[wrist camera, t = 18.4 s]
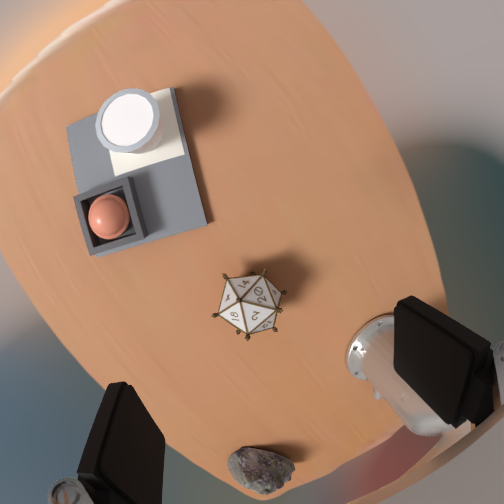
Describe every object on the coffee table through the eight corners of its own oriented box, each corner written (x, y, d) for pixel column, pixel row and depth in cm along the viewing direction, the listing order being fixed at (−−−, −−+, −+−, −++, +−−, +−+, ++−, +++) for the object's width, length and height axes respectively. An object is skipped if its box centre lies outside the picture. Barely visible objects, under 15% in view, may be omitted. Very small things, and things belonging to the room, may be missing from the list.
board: (207, 224, 35) (207, 228, 32) (99, 256, 34) (90, 262, 31) (174, 89, 31) (171, 80, 27) (69, 127, 29) (57, 123, 26)
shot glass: (141, 95, 29) (127, 76, 23) (180, 127, 31) (174, 113, 24) (104, 137, 30) (82, 127, 23) (142, 170, 32) (126, 167, 25)
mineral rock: (295, 460, 49) (307, 495, 39) (250, 478, 48) (258, 512, 39) (270, 434, 45) (282, 474, 36) (220, 453, 45) (225, 493, 35)
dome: (137, 229, 33) (128, 235, 29) (101, 240, 33) (88, 248, 28) (126, 188, 32) (115, 188, 28) (90, 201, 31) (76, 203, 27)
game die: (229, 278, 41) (199, 262, 32) (288, 271, 39) (274, 252, 30) (232, 341, 39) (201, 343, 29) (294, 337, 37) (280, 340, 27)
